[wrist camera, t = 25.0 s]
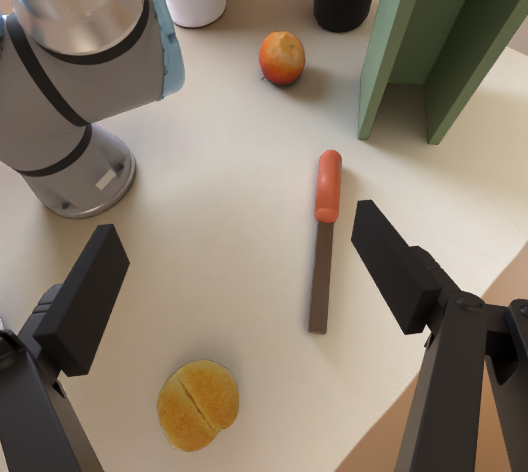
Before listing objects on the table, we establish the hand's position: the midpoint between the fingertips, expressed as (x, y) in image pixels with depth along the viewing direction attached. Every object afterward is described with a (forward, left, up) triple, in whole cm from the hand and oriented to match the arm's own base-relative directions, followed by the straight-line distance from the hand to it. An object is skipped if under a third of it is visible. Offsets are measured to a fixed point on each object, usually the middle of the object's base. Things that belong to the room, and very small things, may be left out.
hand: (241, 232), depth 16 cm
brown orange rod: (-2, +12, -23) cm, 26 cm away
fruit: (-29, +29, -23) cm, 47 cm away
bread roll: (+3, -13, -23) cm, 27 cm away
